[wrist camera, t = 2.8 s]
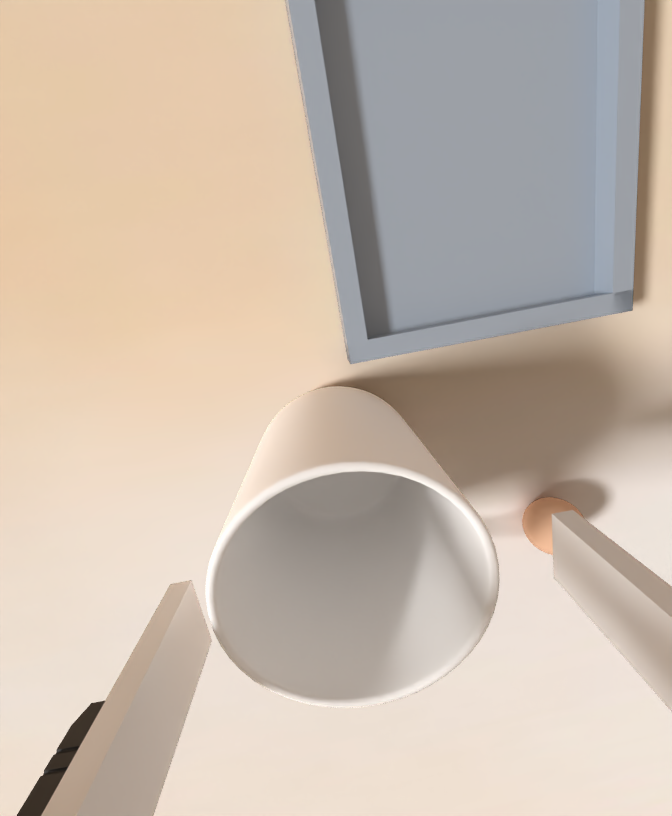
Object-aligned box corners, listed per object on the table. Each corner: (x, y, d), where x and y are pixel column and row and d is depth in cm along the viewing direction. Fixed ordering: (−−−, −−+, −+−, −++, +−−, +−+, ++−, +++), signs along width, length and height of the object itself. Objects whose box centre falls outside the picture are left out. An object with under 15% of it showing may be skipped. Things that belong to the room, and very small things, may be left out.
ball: (510, 492, 22) (542, 522, 19) (562, 483, 22) (602, 511, 19) (513, 537, 23) (543, 573, 20) (562, 528, 23) (601, 562, 20)
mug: (352, 581, 23) (380, 801, 13) (230, 441, 20) (138, 578, 10) (466, 509, 22) (596, 683, 12) (355, 350, 19) (398, 397, 9)
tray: (276, -49, 15) (271, -97, 13) (611, -112, 15) (650, -168, 13) (347, 359, 19) (350, 364, 18) (603, 310, 19) (632, 310, 18)
